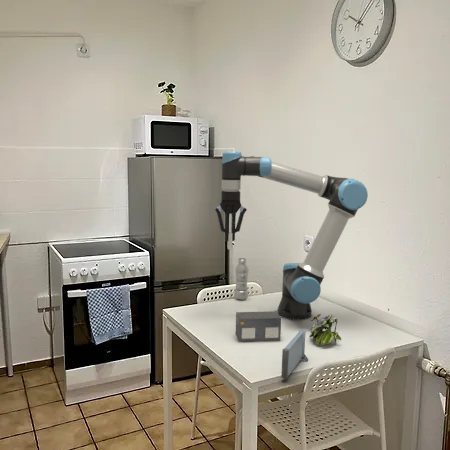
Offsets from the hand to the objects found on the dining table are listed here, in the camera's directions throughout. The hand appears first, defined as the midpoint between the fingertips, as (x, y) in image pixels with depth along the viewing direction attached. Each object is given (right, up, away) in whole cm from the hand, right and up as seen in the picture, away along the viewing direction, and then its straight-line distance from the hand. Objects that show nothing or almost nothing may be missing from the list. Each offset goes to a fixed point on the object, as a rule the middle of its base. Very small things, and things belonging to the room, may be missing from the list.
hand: (229, 248), depth 199 cm
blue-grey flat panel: (+21, -37, -36) cm, 56 cm away
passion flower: (+36, -35, -11) cm, 52 cm away
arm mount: (+24, -37, -28) cm, 52 cm away
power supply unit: (+11, -34, -9) cm, 36 cm away
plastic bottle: (+6, -27, +41) cm, 49 cm away
